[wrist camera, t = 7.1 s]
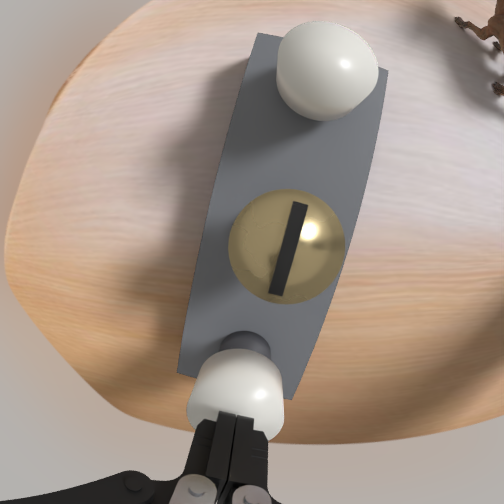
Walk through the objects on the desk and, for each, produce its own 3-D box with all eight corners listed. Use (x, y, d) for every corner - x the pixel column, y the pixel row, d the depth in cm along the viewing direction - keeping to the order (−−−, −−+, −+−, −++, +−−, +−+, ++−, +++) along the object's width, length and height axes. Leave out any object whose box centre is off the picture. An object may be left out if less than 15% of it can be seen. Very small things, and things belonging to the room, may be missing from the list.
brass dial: (314, 289, 13) (326, 318, 10) (227, 268, 13) (215, 290, 10) (339, 203, 12) (361, 208, 9) (249, 179, 12) (243, 175, 9)
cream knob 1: (269, 418, 15) (268, 454, 12) (193, 401, 15) (181, 434, 12) (293, 359, 14) (297, 394, 11) (206, 338, 14) (193, 370, 11)
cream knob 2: (352, 132, 13) (370, 120, 10) (267, 107, 13) (266, 89, 10) (365, 62, 12) (383, 40, 9) (286, 38, 12) (289, 11, 9)
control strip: (289, 375, 21) (292, 411, 17) (187, 350, 21) (171, 382, 17) (372, 85, 16) (395, 63, 12) (259, 53, 16) (256, 22, 12)
